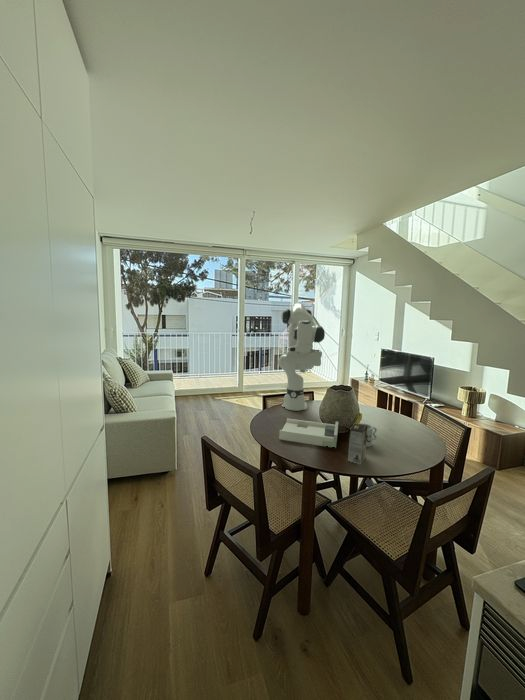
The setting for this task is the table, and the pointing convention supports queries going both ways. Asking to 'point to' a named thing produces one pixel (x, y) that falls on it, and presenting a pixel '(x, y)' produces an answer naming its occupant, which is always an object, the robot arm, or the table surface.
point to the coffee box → (357, 443)
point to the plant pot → (358, 419)
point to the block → (329, 430)
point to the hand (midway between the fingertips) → (302, 372)
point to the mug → (369, 434)
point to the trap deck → (308, 433)
